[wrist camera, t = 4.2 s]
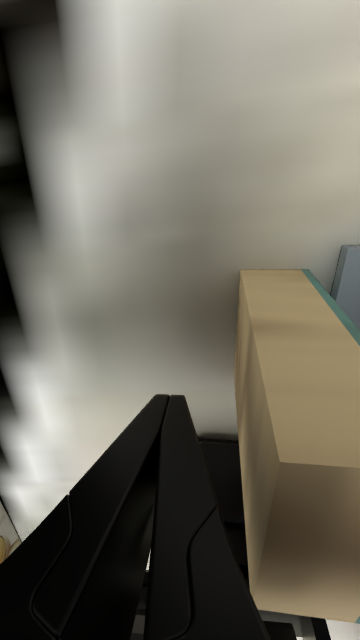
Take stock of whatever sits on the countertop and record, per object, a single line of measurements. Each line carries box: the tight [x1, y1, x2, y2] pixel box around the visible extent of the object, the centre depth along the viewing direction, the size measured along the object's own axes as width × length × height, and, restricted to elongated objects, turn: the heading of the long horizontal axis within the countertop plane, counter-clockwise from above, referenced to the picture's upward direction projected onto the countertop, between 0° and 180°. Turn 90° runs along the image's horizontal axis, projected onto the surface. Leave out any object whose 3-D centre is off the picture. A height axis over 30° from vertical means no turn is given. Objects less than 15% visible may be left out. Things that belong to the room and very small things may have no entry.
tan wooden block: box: [234, 270, 360, 624], centre depth 10 cm, size 6×3×9 cm, turn 3°
